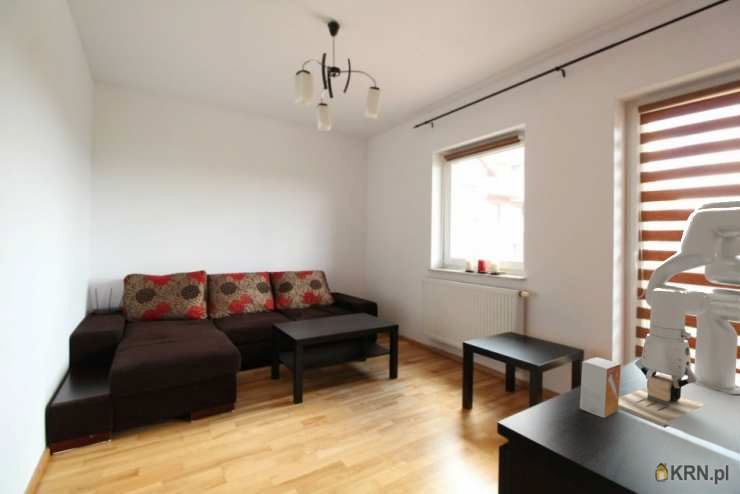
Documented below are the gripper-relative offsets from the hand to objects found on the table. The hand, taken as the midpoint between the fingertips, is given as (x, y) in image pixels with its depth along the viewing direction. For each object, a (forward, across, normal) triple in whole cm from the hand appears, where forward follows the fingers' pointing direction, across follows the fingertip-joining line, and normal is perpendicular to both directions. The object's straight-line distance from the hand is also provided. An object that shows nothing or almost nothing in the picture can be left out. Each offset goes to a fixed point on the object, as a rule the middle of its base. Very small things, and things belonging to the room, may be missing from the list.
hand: (663, 396), depth 101 cm
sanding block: (+1, 0, 0) cm, 1 cm away
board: (+2, 0, +4) cm, 4 cm away
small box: (+3, +6, +21) cm, 22 cm away
